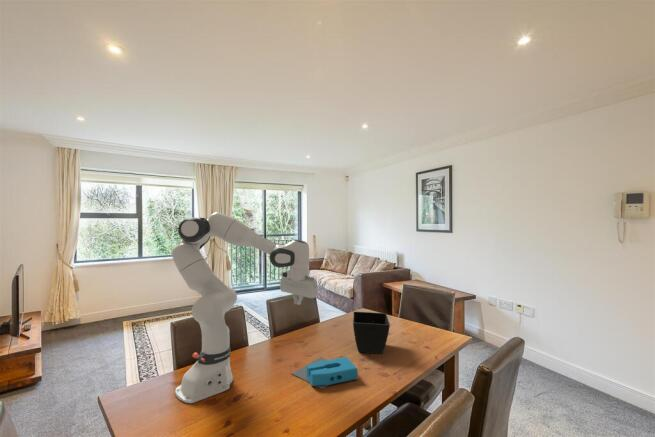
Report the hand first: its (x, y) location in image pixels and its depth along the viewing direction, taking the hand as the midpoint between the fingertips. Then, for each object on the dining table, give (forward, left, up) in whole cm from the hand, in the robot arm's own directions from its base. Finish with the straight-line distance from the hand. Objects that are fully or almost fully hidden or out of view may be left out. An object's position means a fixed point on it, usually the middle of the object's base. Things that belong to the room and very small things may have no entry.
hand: (297, 304), depth 134 cm
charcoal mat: (+5, -10, -30) cm, 32 cm away
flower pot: (+41, -15, -31) cm, 54 cm away
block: (-5, -12, -28) cm, 30 cm away
